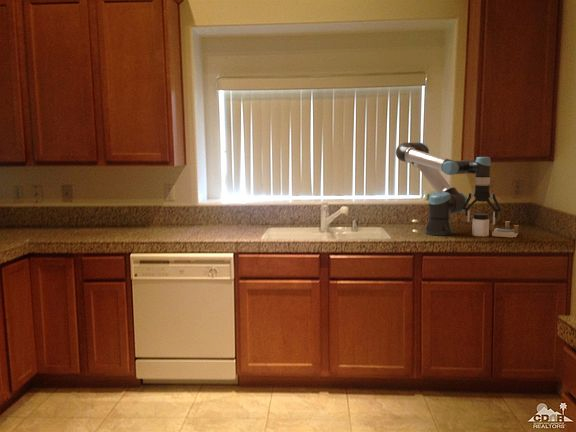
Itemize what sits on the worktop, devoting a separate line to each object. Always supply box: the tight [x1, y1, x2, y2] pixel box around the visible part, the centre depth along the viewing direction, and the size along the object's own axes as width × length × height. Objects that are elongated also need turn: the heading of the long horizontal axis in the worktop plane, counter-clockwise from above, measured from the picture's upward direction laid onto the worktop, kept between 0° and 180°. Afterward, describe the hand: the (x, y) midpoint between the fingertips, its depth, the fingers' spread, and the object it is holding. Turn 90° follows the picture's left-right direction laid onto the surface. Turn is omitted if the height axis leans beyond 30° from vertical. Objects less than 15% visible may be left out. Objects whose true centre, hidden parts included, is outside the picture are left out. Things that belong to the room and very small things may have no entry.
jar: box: [471, 212, 490, 238], centre depth 283 cm, size 9×8×12 cm
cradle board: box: [489, 220, 520, 238], centre depth 284 cm, size 15×16×7 cm
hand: (481, 222), depth 283 cm, fingers open, 13 cm apart
